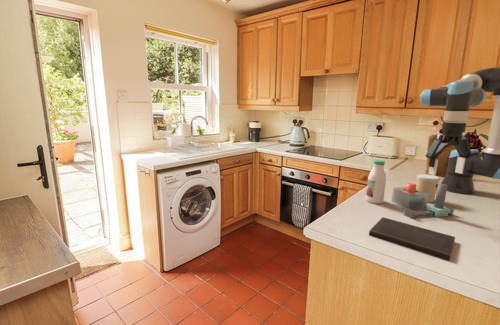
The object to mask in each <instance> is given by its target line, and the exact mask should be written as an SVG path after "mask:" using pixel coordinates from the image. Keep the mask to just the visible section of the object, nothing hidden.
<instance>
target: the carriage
mask: <svg viewBox="0 0 500 325" xmlns="http://www.w3.org/2000/svg"><path fill="white" fill-rule="evenodd" d="M447 186H448V185H446V184H441V183H438V187H437V191H436V194H435V198H434V204H427V207H426V208H425V209H427V211H433V212H435V216H434V217H436V218H437V217H447V216H449V215H448V213H450V212H451V209H449V208H446V207H444V206H445V200H446V198H447Z"/></svg>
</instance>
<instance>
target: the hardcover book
mask: <svg viewBox="0 0 500 325" xmlns="http://www.w3.org/2000/svg"><path fill="white" fill-rule="evenodd" d="M368 235H369V236H371V237H374V238H377V239H380V240H382V241H386V242H389V243H392V244H396V245H398V246H401V247H405V248H408V249H411V250H414V251H417V252H420V253H422V254H426V255H429V256H433V257H436V258H438V259H442V260H444V261H447V262H450V259H451V254H452V251H453V247H454V243H455V240H456V237H455V236H453V235H449V234H447V233H446V234H445V233H442V232H438V231H436V230H435V231H434V230H431V229H427V228H423V227H420V226H416V225H412V224H410V223H405V222H401V221H397V220H394V219H390V218H387V217H382V218H380V219H379V220H378V222H376V224H374V226H372V227H371V228H370V229H369V231H368Z"/></svg>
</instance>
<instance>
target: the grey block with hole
mask: <svg viewBox="0 0 500 325" xmlns="http://www.w3.org/2000/svg"><path fill="white" fill-rule="evenodd" d="M428 196H429V193H426V192H423V191H421V190H418V189H416V192H412V193H410V192H408V191H406V186H405V187H404V186H402V187H393V189H392V195H391V201H390V202H391V203H393V204H395V205H397V206H399V207H402V208H403V209H405V208H408V209H410V210H421V209H423V210H424V209H427V208H426V207H427V205H428V202H427V201H428Z"/></svg>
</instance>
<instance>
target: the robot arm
mask: <svg viewBox="0 0 500 325" xmlns="http://www.w3.org/2000/svg"><path fill="white" fill-rule="evenodd" d="M487 93H492V97H493V98H494V99H495V102H494V107H493V112H492V118H491V123H490V127H489V133H488V139H487V144H486V148H484V149H482V150H481V152H480V151H479V149H474V148H473V149H471V145H470V141H469V136H470V135H469V133H465V132H466V128H467V123H466V122H468V118H469V113H470V112H469V111H470V107H471V108H474V107H478V106H480V105H482V104H483V103H484V102H485V101H486V99H487ZM419 101H420V104H421V105H422V106H423V107H445V109H444V114H443V122H442V126H441V131H442V132H443V133H442V134H438V133H437V134H435V135H436V136H435V140H434V141H433V143H432V145H431V147H430V148H429V150H428V152H427V151H426V154H425V157H426V158H427V157H428V158H430V161H429V172H428V174H427V175H429V174H431V175H433V176H435V175H436V170H437V164H438V160H437V158H438V156H439V155H440V154H441V153H442V152H443V150H444V149H445V148H446V147H448V146H452V145H454V146H455V148H456V150H452V151H451V153H450V157H449V162H448V168H447V174H446V176H445V177H443V179H442V181H441V183H440V184H446V185H448V186H447V191H448V192H451V193H457V194H463V195H464V194H465V195H471V194H474V193H475V185H474V180H473V179H474V178H473V177H474V175H476V176H480V177H486V178H491V179H494V180H496V179H497V180H500V66H496V67H488V68H484V69H479V70H476V71H474V72H470V73H468V74H465V75H464V76H462V77H461V79H457V80H455V81H452V82H450V83H448V84H446V85H442V86H440V87H437V88H430V89H429V88H428V89H426V88H425V89H423V91H422V92H421V94H420V96H419ZM430 154H431V155H430ZM447 191H446V192H447Z"/></svg>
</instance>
